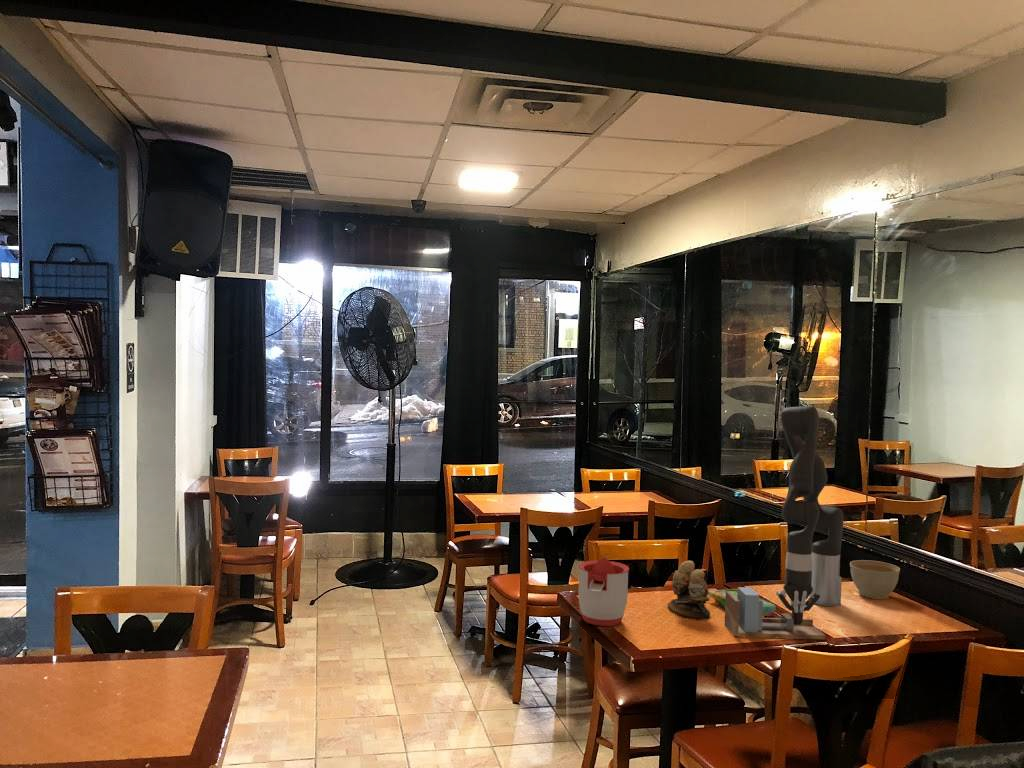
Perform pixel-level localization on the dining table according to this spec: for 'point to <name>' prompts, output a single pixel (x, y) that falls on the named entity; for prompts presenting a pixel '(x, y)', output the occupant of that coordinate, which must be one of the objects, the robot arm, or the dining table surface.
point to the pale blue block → (748, 609)
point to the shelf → (799, 631)
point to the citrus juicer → (603, 591)
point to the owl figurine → (689, 592)
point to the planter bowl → (874, 578)
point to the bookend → (786, 623)
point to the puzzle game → (721, 596)
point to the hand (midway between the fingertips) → (797, 623)
